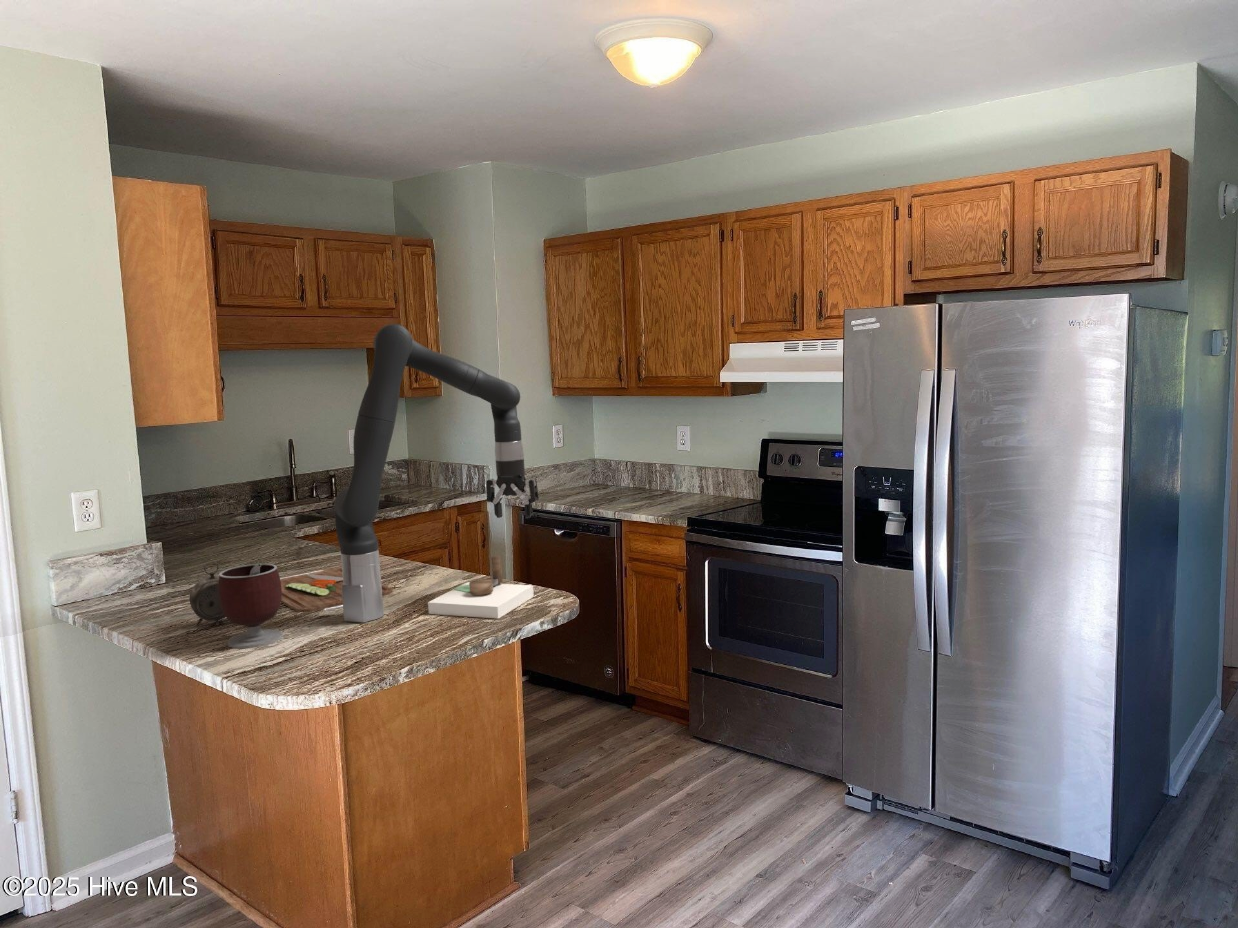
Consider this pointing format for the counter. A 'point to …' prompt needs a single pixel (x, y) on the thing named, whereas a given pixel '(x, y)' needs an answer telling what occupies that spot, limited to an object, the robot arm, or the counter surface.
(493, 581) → the crank handle
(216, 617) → the alarm clock
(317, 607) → the chopping board
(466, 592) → the white square slab
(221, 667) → the counter surface
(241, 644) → the mate gourd
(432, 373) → the robot arm
